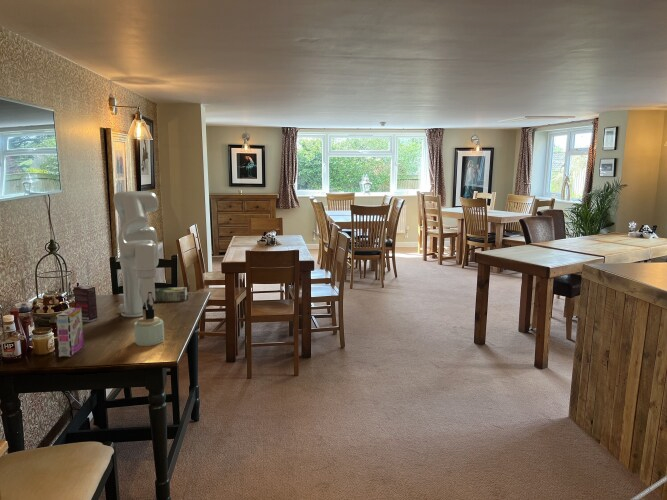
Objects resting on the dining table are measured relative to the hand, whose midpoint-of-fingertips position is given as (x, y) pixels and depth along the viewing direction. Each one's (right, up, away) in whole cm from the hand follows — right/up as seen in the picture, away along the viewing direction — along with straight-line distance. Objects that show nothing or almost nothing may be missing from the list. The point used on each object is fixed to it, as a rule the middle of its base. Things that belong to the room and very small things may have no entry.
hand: (148, 316), depth 197 cm
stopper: (0, -5, +1) cm, 6 cm away
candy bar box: (-25, -12, -11) cm, 30 cm away
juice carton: (-14, 0, +65) cm, 67 cm away
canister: (0, -10, +2) cm, 11 cm away
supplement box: (-40, -6, +28) cm, 49 cm away
